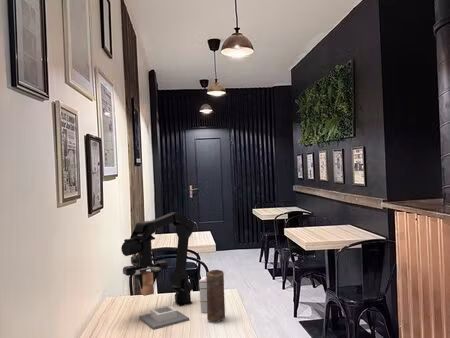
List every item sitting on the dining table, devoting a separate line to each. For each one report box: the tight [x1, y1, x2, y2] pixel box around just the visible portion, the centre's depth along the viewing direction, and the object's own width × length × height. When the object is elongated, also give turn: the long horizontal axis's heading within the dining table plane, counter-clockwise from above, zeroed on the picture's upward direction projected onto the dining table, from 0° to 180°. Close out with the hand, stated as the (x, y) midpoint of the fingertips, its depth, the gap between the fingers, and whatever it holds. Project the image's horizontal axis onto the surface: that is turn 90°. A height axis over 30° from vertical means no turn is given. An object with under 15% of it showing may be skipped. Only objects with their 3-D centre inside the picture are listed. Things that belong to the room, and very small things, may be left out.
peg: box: [139, 270, 155, 297], centre depth 177 cm, size 4×4×9 cm
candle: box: [205, 269, 226, 323], centre depth 170 cm, size 8×7×20 cm
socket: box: [138, 304, 190, 330], centre depth 174 cm, size 16×16×4 cm
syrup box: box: [198, 276, 207, 314], centre depth 182 cm, size 6×6×14 cm
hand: (146, 287), depth 177 cm, fingers closed on peg, 4 cm apart
